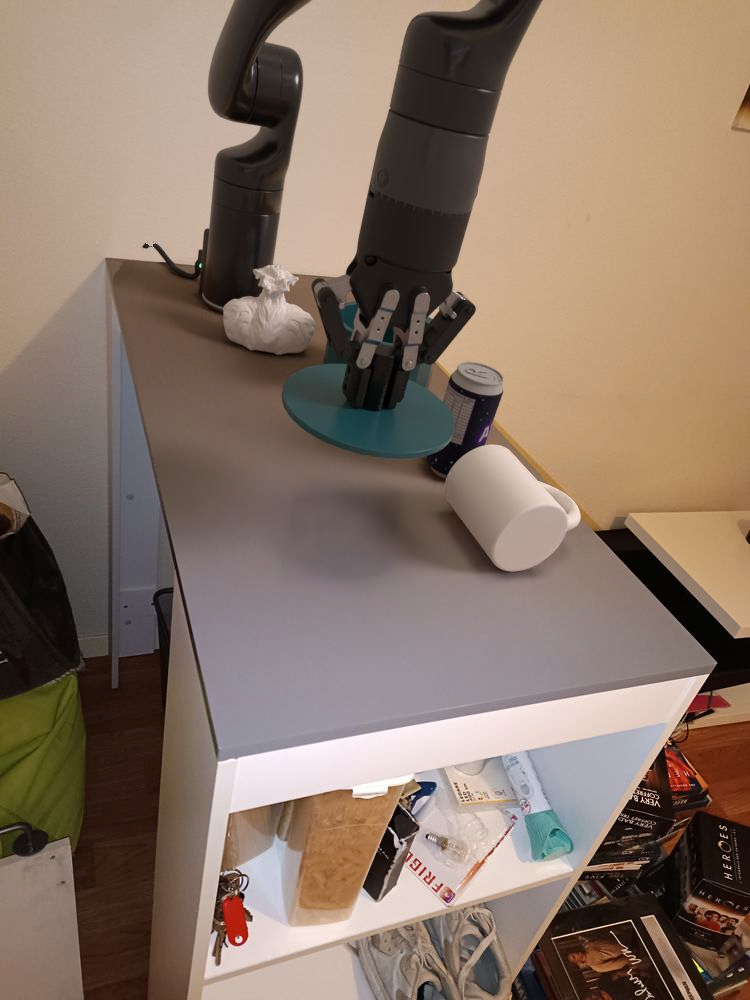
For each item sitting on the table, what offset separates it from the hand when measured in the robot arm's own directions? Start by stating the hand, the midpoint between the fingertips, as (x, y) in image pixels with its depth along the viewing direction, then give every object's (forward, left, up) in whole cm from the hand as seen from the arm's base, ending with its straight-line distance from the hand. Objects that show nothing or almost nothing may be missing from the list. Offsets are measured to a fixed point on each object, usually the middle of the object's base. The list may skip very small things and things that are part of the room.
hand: (370, 403), depth 62 cm
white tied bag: (-33, +21, -13) cm, 41 cm away
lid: (0, 0, -1) cm, 1 cm away
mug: (+11, +13, -13) cm, 22 cm away
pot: (-18, +26, -13) cm, 34 cm away
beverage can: (0, +18, -13) cm, 22 cm away
